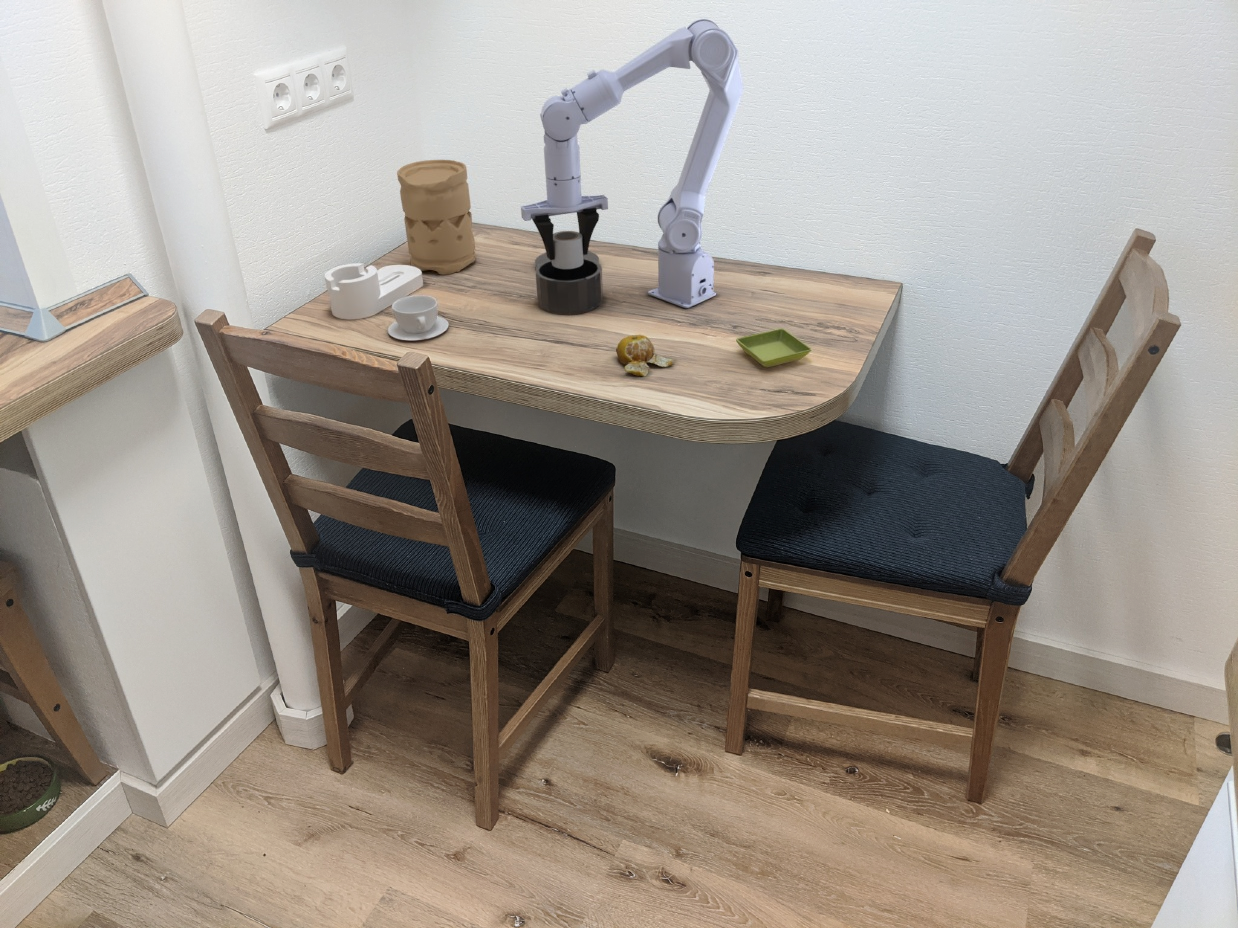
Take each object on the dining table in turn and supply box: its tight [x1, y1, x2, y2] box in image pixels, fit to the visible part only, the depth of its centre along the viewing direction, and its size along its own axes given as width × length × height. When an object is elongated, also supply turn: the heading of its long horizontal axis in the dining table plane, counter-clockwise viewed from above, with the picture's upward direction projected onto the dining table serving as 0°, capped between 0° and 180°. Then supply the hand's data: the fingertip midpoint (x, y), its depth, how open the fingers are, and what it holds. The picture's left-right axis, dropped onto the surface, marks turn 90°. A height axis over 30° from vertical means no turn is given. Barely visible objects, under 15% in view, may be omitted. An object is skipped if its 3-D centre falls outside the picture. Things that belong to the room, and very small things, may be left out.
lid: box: [534, 250, 600, 269], centre depth 181 cm, size 12×12×4 cm
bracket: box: [324, 262, 424, 321], centre depth 170 cm, size 20×9×7 cm, turn 153°
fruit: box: [615, 334, 675, 377], centre depth 146 cm, size 8×8×4 cm
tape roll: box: [552, 230, 583, 269], centre depth 162 cm, size 5×5×5 cm
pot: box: [534, 258, 604, 316], centre depth 166 cm, size 11×11×6 cm
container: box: [396, 159, 477, 275], centre depth 180 cm, size 13×13×18 cm
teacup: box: [387, 294, 449, 341], centre depth 158 cm, size 10×10×5 cm
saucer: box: [735, 328, 812, 369], centre depth 147 cm, size 9×9×2 cm
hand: (567, 255), depth 163 cm, fingers closed on tape roll, 5 cm apart
